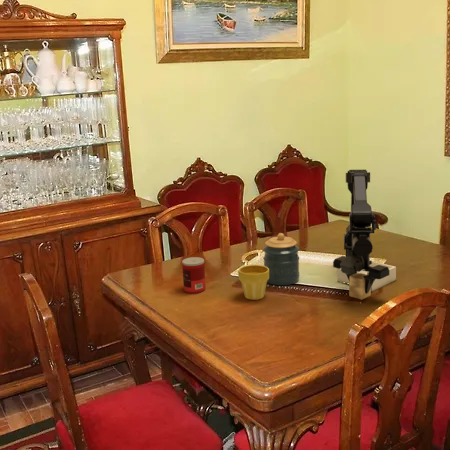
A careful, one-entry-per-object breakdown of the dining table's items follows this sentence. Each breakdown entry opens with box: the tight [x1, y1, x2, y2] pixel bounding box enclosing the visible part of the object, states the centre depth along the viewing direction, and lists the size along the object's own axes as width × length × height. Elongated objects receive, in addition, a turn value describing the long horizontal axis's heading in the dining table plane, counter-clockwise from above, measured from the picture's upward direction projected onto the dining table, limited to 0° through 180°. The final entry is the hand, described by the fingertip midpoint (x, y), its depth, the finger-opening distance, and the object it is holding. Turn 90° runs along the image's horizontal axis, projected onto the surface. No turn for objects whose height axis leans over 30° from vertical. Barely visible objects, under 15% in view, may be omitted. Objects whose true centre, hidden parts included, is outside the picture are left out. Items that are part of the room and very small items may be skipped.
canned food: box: [181, 256, 206, 295], centre depth 206 cm, size 8×8×11 cm
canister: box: [262, 232, 300, 286], centre depth 212 cm, size 13×13×18 cm
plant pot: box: [237, 264, 269, 301], centre depth 198 cm, size 10×10×10 cm
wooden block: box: [348, 272, 372, 301], centre depth 195 cm, size 5×5×7 cm
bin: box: [336, 260, 397, 292], centre depth 209 cm, size 15×15×5 cm
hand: (360, 291), depth 196 cm, fingers closed on wooden block, 5 cm apart
